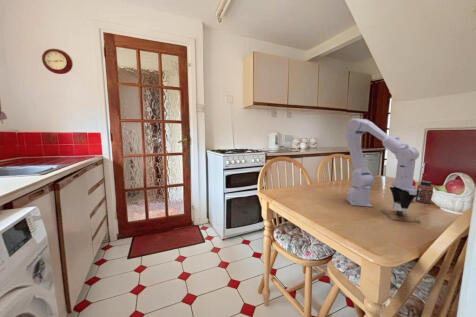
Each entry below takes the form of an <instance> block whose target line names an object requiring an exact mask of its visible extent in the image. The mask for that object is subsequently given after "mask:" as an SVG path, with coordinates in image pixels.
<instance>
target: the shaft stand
mask: <svg viewBox="0 0 476 317" xmlns="http://www.w3.org/2000/svg"><path fill="white" fill-rule="evenodd" d="M380 211H381V212H382V213H383V214H384V215H385V216H387V217H388V218H389V219H390V220H391V221H397V222H407V223H418V224H421V221H420V220H419V219H417V218H416V217H415V216H413V215H412V214H410V213H408V211H407V212H403V211H398V210H391V209H390V210H389V209H388V210H387V209H380Z"/></svg>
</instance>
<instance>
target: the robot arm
mask: <svg viewBox="0 0 476 317" xmlns="http://www.w3.org/2000/svg"><path fill="white" fill-rule="evenodd" d="M366 132H367V133H368V134H371V135H372V136H373V137H375V138H377V139H378V140H380V141H381V142H382V146H383V147H384V148H385V149H386V150H388V151H389V152H391V153H392V154H393V155H394V156H395V158H396V160H397V163H396V172H395V179H394V180H395V181H394V180H393V181H391V186H392V187H391V186H390V187H389V190H390V192H391V194H392V200H393V202H394V201H401V208H405V209H408V210H409V207H410V205H411V203H412V202H413V201H414V199H416V196H417V189H416V185H415V186H412V183H413V180H414V175H415V174H414V173H415V167H416V160H418V158H419V156H420V152H419V151H418V149H417V148H416V147H413V146H410V145H409V144H408V143H405V142H403V141H402V140H400V139H401V138H400V137H399V136H395V135H390V136H389V135H388V134H387V133H386V132H384V131H383V130H382V129H381V128H379V127H378V126H377V125H376V124H375V123H374V122H372V121H370V119H367V118H352V119H350V120H349V121H348V123H347V124H346V135H345V139H346V143H347V147H348V150H349V151H348V152H349V153H350V154H349V155H350V158H351V164H352V167H353V170H352V172H351V184H352V185H353V186H349V187H348V188H347V198H346V201H347V202H348V203H349V204H350V205H351V206H361V207H370V208H372V207H373V205H372V204H371V203H370V198H371V188H372V185H374V182H375V177H374V176H373V174H372V173H371V170H369V169H368V168H367V166H366V162H365V158H364V154H363V149H362V147H361V142H360V137H362V135H364V134H365V133H366ZM414 188H415V189H414ZM412 200H413V201H412Z"/></svg>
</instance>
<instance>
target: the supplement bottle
mask: <svg viewBox="0 0 476 317" xmlns="http://www.w3.org/2000/svg"><path fill="white" fill-rule="evenodd" d="M416 190H417V192H416V194H417V196H416V197H415V201H417V202H418V203H422V204H427V205H428V204H431V202H432V198H433V191H434V187H433V186H432V182H431V181H428V180H421V181H420V184H419V183H418V185H417V188H416Z"/></svg>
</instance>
